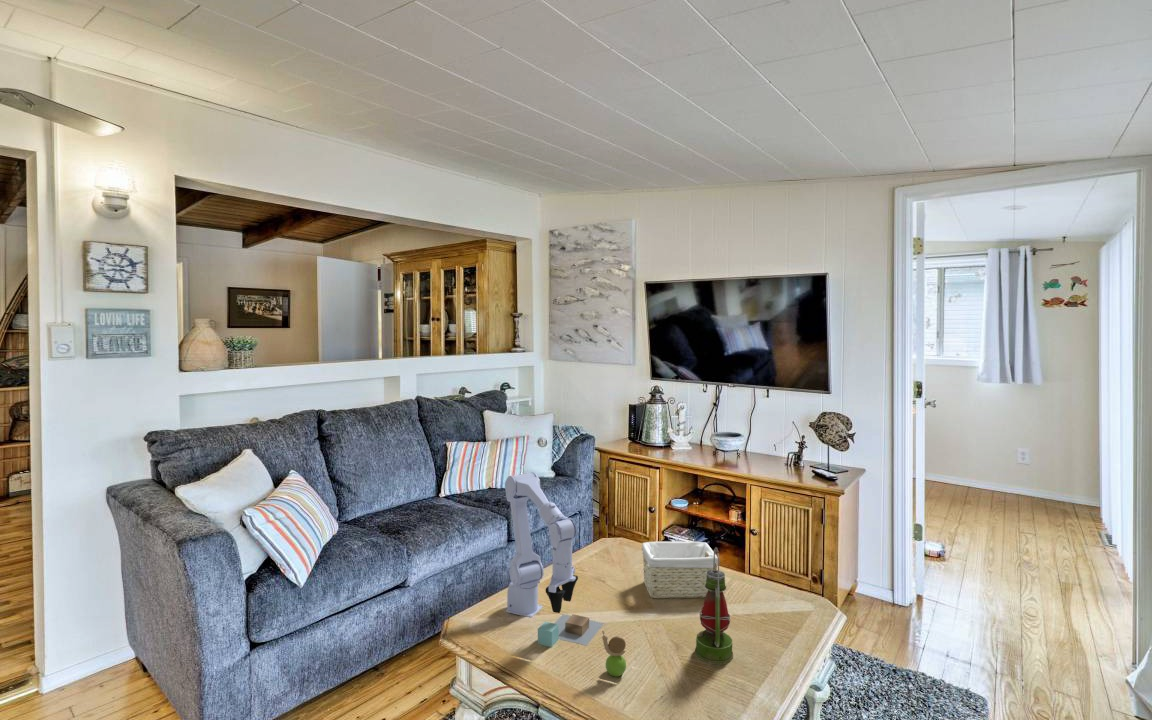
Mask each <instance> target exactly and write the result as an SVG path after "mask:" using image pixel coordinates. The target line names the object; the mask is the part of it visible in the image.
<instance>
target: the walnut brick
mask: <svg viewBox="0 0 1152 720" xmlns="http://www.w3.org/2000/svg"><path fill="white" fill-rule="evenodd" d="M570 616H571V617H570V618H569V619H568V620H567V621H566V622H565V632H567V633H571V634H576V635H580V636H583V634H584V633H585V632H586V631H587V629H588V628H589V620H590V617H587V616H583V615H579V614H578V615H577V614H574V613H573V614H572V613H571V615H570Z"/></svg>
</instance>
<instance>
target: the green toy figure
mask: <svg viewBox="0 0 1152 720" xmlns="http://www.w3.org/2000/svg"><path fill="white" fill-rule="evenodd" d="M601 633H602V636H601V638H602V642H603V646H604V650H605V651H606V653H607V654H608V655H609V656H608V657H606V660H605V669H606V672H607V673H608V674H609V675H610V676H611V677H616V678H617V677H620V676H622V675H623V674H624V673H625V671H626V669H627V662H626V659H625V658H624V656H623V655H624V654H626V650H625V649H626V641H625V639H624V638H623V637H621V636H618V635H616V636H614V637H612V638H610V640H609V641H608V636H607V635H606V634H605V630H602V632H601Z"/></svg>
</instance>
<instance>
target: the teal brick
mask: <svg viewBox="0 0 1152 720" xmlns="http://www.w3.org/2000/svg"><path fill="white" fill-rule="evenodd" d="M554 623H555V622H549V621H544V622H543V623H542V624H541V625H540V626H539V627H538V628H537V645H541V646H544V647H549V648H553V647H554V646H555V644H557V642H559V640H560V639H559V625H558V624H554Z"/></svg>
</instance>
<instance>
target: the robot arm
mask: <svg viewBox="0 0 1152 720" xmlns="http://www.w3.org/2000/svg"><path fill="white" fill-rule="evenodd" d="M504 488H505V489H504V490H505V497H506V501H507V502H510V511H511V518H512V525H513V533H514V541H515V549H516V555H514V556H513V558H512V559H511V560H510V561H509V579H510V583H509V585H508V587H507V592H506V594H507V595H506V597H507V598H506V599H507V602H506V603H507V605H506V606H507V607H506V608H507V609H506V613H509V614H514V615H518V616H522V617H523V616H525V617H528V618H533V617H535V616H536V615H537V613H539V611H541V609H543V608H544V606H543V605H541V604H539V584H541V580H542V579H543V577H544V576H545V575H544V574H545V573H544V572H545V571H544V570H545V569H544V566H543V564H542V559H541V557H540V555H539V554H537V553H535V552H534V551H533V544H532V538H531V530H530V523H529V516H528V509H527V508H528V507H527V502H528V500H529V499H530V500H531V502H532V503H533V504H534V505H535V506H536V507H537V508H538V509H539V511H538V515H539V517H540V518H541V520H542V521H543V522H544V524H545V526H546V527H547V528H548V535H549V538H550V546H551V547H552V569H551V570H552V571H551V573H552V574H551V578H550V582H549V584H548V586H546V588H545V594H546V595H547V597H548V599H549V601H550V605H551V609H552V612H553V613H556V614H560V613H561V611H562V606H563V605H562V604H563V601H564V602H570V603H571V602H572V598H573V593H574V589H575V585H576V583H577V581H578V580H579V576H578V575H575V573H576V566H573V539H574V538H576V537H577V532H578V531H577V525H576V524H575V521H574V520H573V518H571V517H568V516H565V515H564V514H563V513H562V511H561V510H560V509H559V508H558V506H557V505H556V504H555V503H554V502H553V501H551V502H550V501H549V499H548V498H547V497H546V495H545V493H544V492H543V489H542V488H541V479H540V478H539V476H538V474H537V473H536V472H533V471H532V472H528V473H523V474H516V475H507V478H506V480H505V482H504ZM560 586H561V588H560Z"/></svg>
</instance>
